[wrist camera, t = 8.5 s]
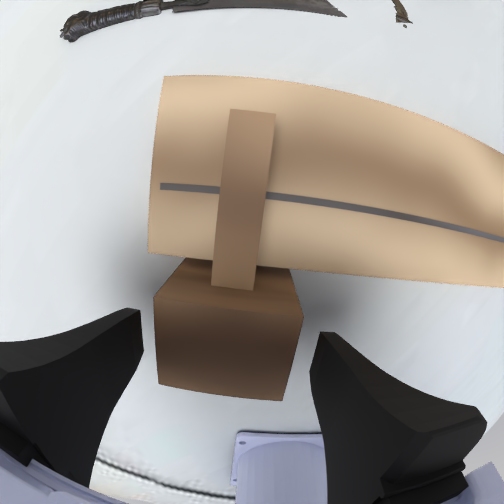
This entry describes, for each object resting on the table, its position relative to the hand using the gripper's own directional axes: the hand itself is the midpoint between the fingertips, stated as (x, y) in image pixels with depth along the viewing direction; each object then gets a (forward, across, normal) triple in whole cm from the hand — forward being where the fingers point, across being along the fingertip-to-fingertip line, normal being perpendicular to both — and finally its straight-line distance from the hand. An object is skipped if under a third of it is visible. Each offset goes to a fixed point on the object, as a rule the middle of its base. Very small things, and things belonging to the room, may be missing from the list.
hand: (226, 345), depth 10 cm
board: (+4, -7, -7) cm, 10 cm away
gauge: (+4, 0, -3) cm, 5 cm away
